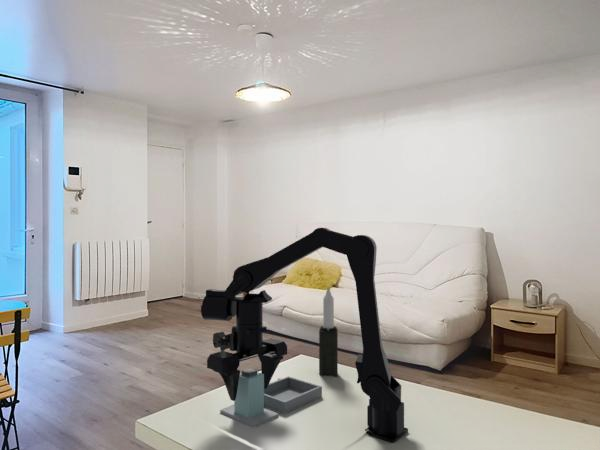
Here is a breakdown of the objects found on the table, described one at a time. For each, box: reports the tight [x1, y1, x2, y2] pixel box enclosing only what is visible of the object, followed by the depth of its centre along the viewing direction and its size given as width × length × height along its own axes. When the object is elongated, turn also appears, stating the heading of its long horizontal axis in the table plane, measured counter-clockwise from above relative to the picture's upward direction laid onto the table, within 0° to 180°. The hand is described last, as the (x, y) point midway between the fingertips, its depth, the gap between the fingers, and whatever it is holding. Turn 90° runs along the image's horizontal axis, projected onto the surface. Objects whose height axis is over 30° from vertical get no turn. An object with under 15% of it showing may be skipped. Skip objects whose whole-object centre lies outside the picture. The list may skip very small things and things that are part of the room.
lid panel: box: [219, 404, 279, 429], centre depth 92 cm, size 11×7×1 cm, turn 49°
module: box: [233, 368, 265, 418], centre depth 93 cm, size 4×4×9 cm
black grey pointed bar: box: [318, 285, 339, 378], centre depth 120 cm, size 5×5×25 cm
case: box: [264, 376, 323, 414], centre depth 102 cm, size 12×13×3 cm
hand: (249, 394), depth 92 cm, fingers open, 9 cm apart
